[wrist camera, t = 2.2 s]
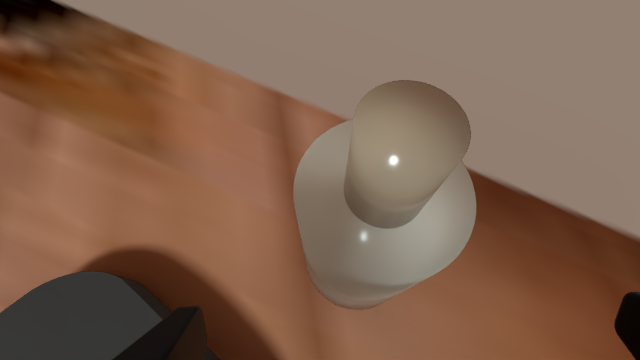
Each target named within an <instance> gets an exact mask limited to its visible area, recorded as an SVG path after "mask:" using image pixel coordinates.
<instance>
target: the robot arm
mask: <svg viewBox="0 0 640 360" xmlns="http://www.w3.org/2000/svg"><path fill="white" fill-rule="evenodd" d="M614 324H615V330H616V332H617V334H618V336H619V337H620V339H621V340H622V342H623V343H624V344H625V346H626V347H627V348H628V350H629V351H630V353H631V354H632V355H633V357H634V358H635V359H636V360H640V292H630V293H627V294H626V295H625V296H624V297H623V300H622V302H621V305H620V308H619V311H618V314H617V316H616V319H615V323H614ZM206 345H207V334H206V329H205V323H204V318H203V312H202V309H201V307H199V306H181V307H179V308H177V309H176V310H175V311H173V312H172V313H171V314H169V315H168V316H167V317H166V318H164V319H163V320H162V321H160V322H159V323H158V324H157V325H155V326H154V327H153V328H152V329H150V330H149V331H148V332H146V333H145V334H144V335H143V336H141V337H140V338H139V339H138V340H136V341H135V342H134V343H132V344H131V345H130V346H129V347H127V348H126V349H125V350H123V351H122V352H121V353H120V354H118V355H117V356H116V357H115V358H113V359H112V360H203V359H204V355H205V350H206Z"/></svg>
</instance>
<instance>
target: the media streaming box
mask: <svg viewBox="0 0 640 360" xmlns="http://www.w3.org/2000/svg"><path fill="white" fill-rule="evenodd" d="M171 313H172V311H171V310H170V309H168V308H167V307H166V306H165V305H164V304H163V303H162V302H161V301H160V300H159V299H158V298H157V297H155V296H154V295H153V294H152V293H151V292H150V291H149V290H147V289H146V288H145V287H144V286H143V285H141V284H139V283H137V282H135V281H132V280H129V279H125V278H122V277H119V276H115V275H112V274H108V273H104V272H94V271H88V272H78V273H73V274H69V275H65V276H62V277H59V278H56V279H53V280H51V281H49V282H46V283H44V284H42V285H40V286H38V287H36V288H35V289H33V290H31V291H30V292H29V293H27V294H26V295H24V296H23V297H21V298H20V299H19V300H17V301H16V302H15V303H13V304H12V305H10V306H9V307H8V308H6V309H5V310H4V311H2V312H1V313H0V360H112V359H113V358H115V357H116V356H117V355H118V354H120V353H121V352H122V351H123V350H125V349H126V348H127V347H129V346H130V345H131V344H132V343H134V342H135V341H136V340H138V339H139V338H140V337H141V336H143V335H144V334H145V333H146V332H148V331H149V330H150V329H152V328H153V327H154V326H155V325H157V324H158V323H159V322H160V321H162V320H163V319H164V318H166V317H167V316H168V315H169V314H171ZM203 360H219V359H218V358H217V357H216V356H215V355H214V354H213V352H212V351H211V350H210V349H209V348H208V347H207V346H206V350H205V355H204V359H203Z"/></svg>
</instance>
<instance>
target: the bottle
mask: <svg viewBox="0 0 640 360" xmlns="http://www.w3.org/2000/svg"><path fill="white" fill-rule="evenodd" d="M470 138H471V131H470V125H469V121H468V119H467V116H466V114H465V112H464V111H463V109H462V108H461V106H460V105H459V104H458V103H457V102H456V101H455V100H454V99H453V98H452V97H451V96H450V95H448V94H447V93H446V92H444V91H442V90H441V89H439V88H437V87H435V86H432V85H430V84H426V83H423V82H418V81H409V80H399V81H392V82H388V83H385V84H382V85H379V86H377V87H375V88H374V89H372V90H371V91H369V92H368V93H367V94H366V95H365V96H364V97H363V98H362V99H361V101H360V102H359V104H358V105H357V108H356V110H355V114H354V119H352V120H349V121H346V122H343V123H340V124H338V125H336V126H334V127H332V128H331V129H329V130H328V131H326V132H325V133H323V134H322V135H321V136H320V137H318V138H317V139H316V140H315V141H314V142H313V143H312V145H311V146H310V147H309V148H308V149H307V151H306V152H305V154H304V155H303V157H302V159H301V161H300V163H299V165H298V169H297V172H296V175H295V180H294V188H293V198H294V207H295V212H296V217H297V222H298V226H299V231H300V236H301V241H302V246H303V251H304V255H305V260H306V265H307V269H308V273H309V276H310V278H311V281H312V282H313V284H314V286H315V287H316V289H317V290H318V291H319V292H320V293H321V294H322V295H323V296H324V297H325V298H326V299H327V300H329V301H330V302H332V303H334V304H335V305H338V306H340V307H343V308H347V309H354V310H363V309H369V308H372V307H375V306H377V305H379V304H382V303H383V302H385V301H387V300H389V299H391V298H392V297H394V296H396V295H398V294H400V293H401V292H403V291H405V290H407V289H409V288H410V287H412V286H414V285H416V284H418V283H420V282H421V281H423V280H425V279H427V278H429V277H430V276H432V275H434V274H436V273H438V272H439V271H441V270H442V269H444V268H445V267H447V266H448V265H449V264H450V263H451V262H452V261H453V260H454V259H456V258H457V256H458V255H459V254H460V253H461V251H462V250H463V249H464V247H465V246H466V244H467V242H468V240H469V238H470V236H471V233H472V230H473V228H474V223H475V218H476V196H475V191H474V187H473V183H472V180H471V178H470V175H469V173H468V171H467V169H466V167H465V165H464V163H463V162H462V160H461V159H462V158H463V156H464V155H465V153H466V152H467V149H468V147H469V144H470Z"/></svg>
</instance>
